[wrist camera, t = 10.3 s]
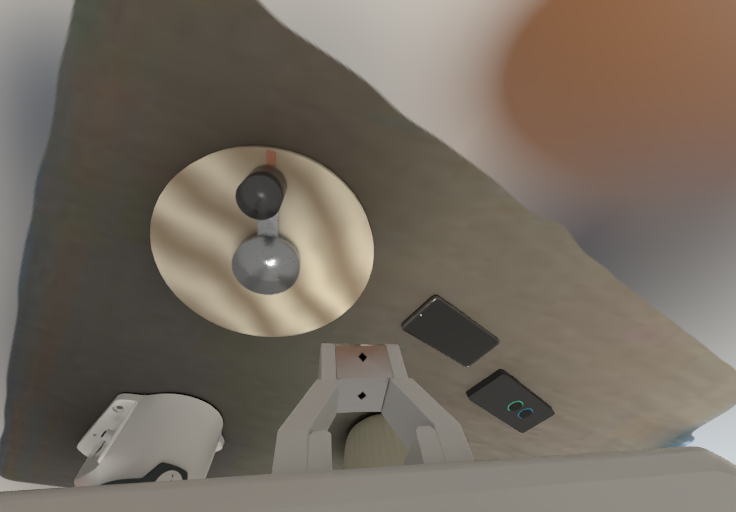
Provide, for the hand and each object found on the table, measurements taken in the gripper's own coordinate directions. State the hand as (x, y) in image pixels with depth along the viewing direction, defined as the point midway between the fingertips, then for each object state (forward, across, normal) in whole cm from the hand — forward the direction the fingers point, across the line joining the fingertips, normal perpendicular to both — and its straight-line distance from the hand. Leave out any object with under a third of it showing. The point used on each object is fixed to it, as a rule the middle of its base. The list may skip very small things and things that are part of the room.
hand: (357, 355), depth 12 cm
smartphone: (+24, -20, +21) cm, 38 cm away
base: (+24, +7, +9) cm, 26 cm away
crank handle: (+22, +7, +5) cm, 23 cm away
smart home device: (+24, -37, +38) cm, 58 cm away
